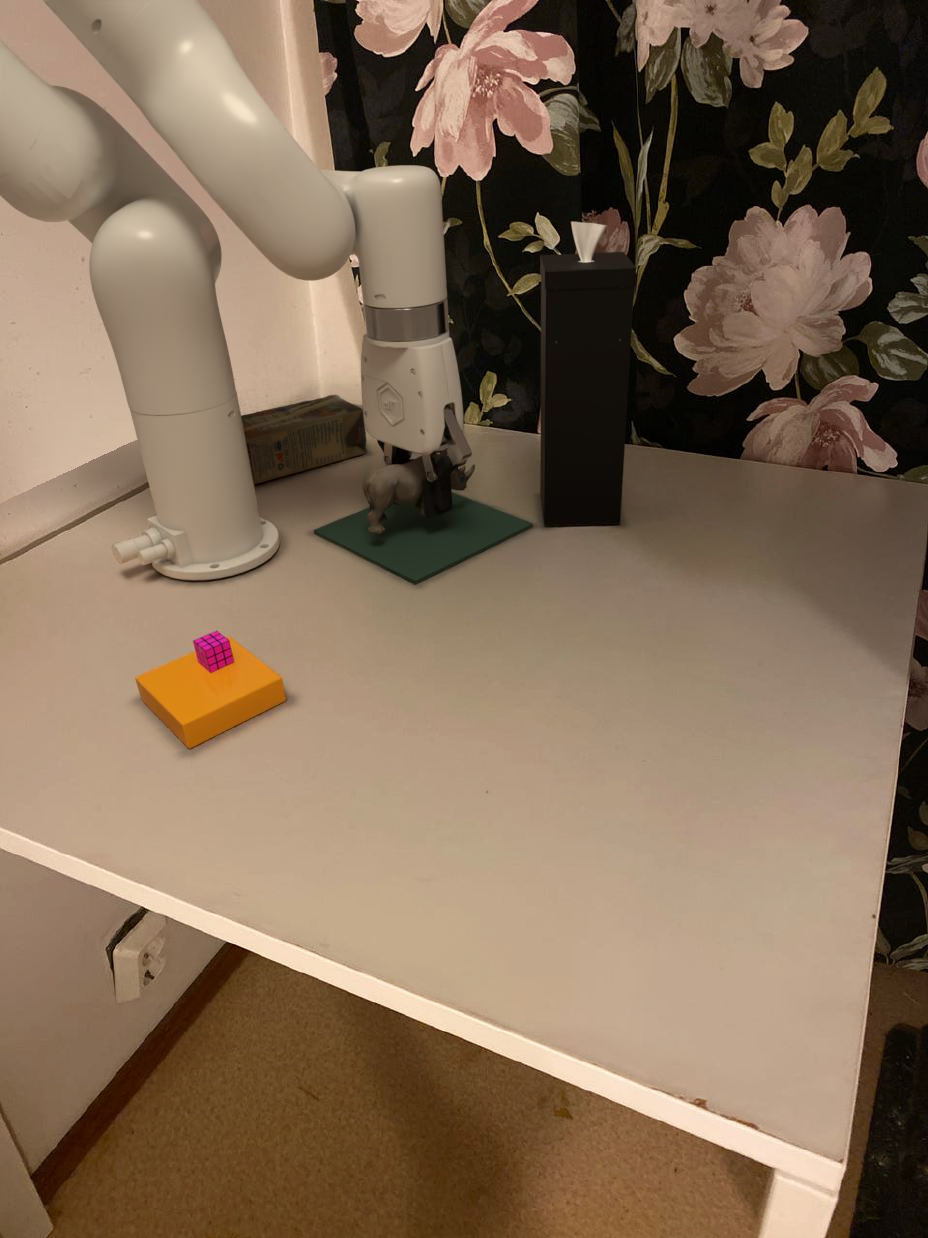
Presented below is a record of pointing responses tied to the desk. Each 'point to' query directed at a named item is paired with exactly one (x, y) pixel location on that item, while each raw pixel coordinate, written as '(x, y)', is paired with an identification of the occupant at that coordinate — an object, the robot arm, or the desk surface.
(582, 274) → the tissue box
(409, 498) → the rhino figurine
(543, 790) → the desk surface
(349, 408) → the beverage carton
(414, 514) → the mat
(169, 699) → the orange block
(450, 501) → the robot arm
